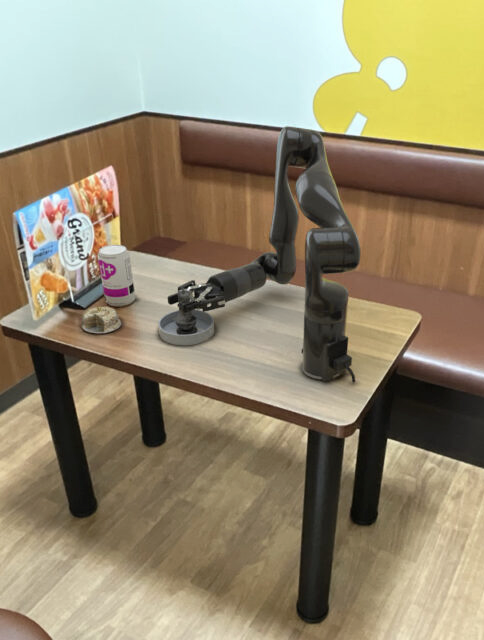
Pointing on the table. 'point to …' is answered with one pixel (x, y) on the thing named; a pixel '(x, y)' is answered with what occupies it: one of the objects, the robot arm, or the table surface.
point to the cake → (100, 320)
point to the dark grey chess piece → (185, 316)
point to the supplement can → (116, 275)
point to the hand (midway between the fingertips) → (175, 304)
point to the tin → (170, 335)
